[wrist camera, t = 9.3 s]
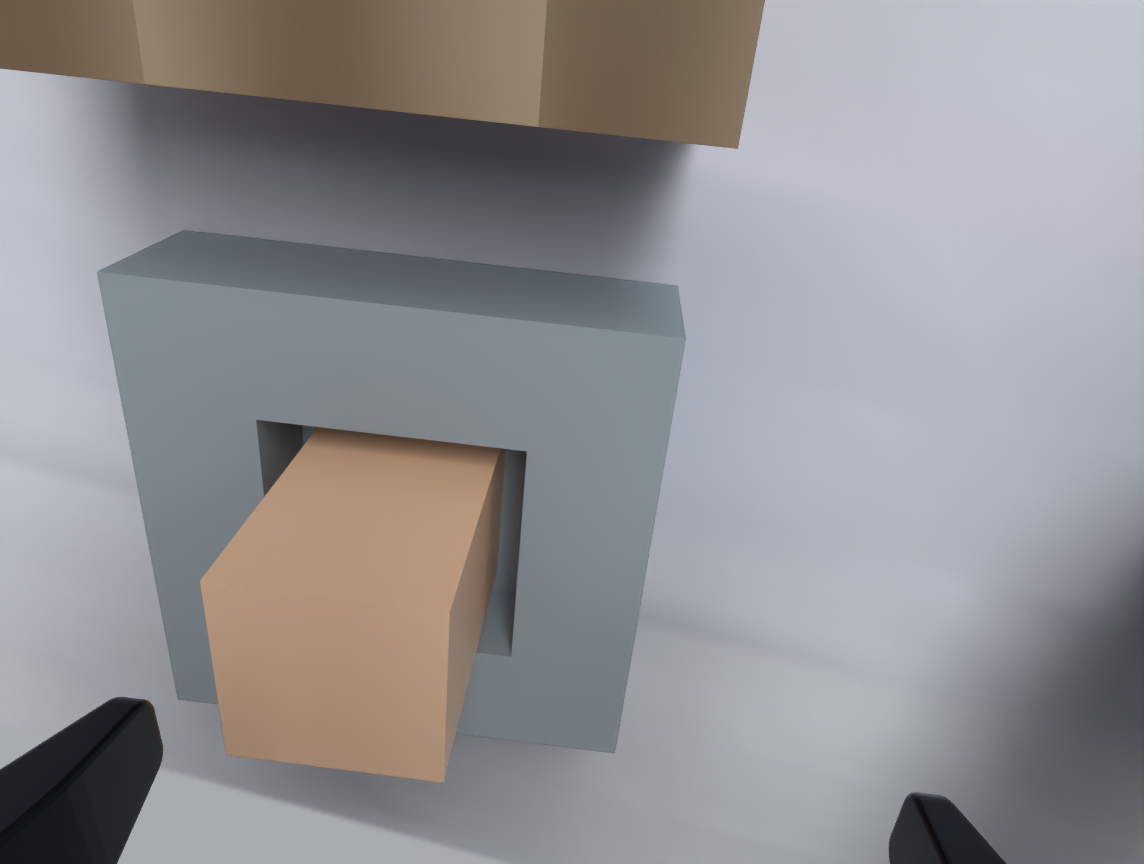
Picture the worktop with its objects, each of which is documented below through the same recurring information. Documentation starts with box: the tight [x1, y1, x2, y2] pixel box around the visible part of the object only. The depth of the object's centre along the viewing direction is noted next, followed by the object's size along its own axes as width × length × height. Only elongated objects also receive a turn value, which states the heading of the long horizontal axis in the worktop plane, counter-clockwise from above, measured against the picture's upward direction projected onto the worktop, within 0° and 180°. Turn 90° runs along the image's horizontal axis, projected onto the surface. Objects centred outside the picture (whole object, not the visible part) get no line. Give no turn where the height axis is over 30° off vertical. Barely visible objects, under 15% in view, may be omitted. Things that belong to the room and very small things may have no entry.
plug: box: [200, 427, 505, 783], centre depth 18 cm, size 4×4×7 cm
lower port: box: [97, 230, 686, 753], centre depth 20 cm, size 12×12×4 cm
